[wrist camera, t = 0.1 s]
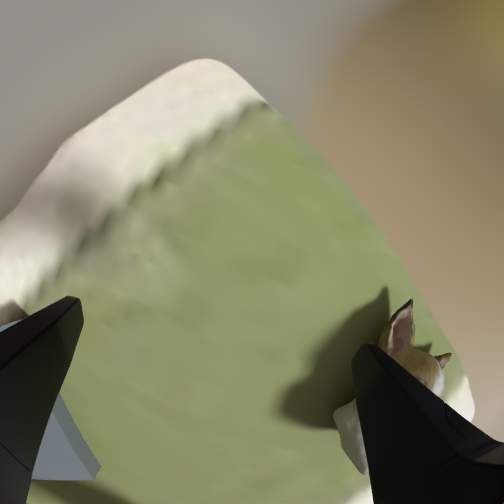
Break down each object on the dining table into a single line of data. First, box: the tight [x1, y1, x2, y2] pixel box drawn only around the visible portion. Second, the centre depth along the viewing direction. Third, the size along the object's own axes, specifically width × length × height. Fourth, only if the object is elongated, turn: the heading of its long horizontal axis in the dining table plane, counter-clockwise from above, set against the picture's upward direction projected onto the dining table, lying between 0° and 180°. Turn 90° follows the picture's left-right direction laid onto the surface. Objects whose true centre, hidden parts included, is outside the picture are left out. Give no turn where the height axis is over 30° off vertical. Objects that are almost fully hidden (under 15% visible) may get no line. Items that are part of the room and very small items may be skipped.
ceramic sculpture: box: [333, 299, 452, 475], centre depth 21 cm, size 11×9×15 cm
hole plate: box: [0, 319, 101, 480], centre depth 17 cm, size 16×16×3 cm
